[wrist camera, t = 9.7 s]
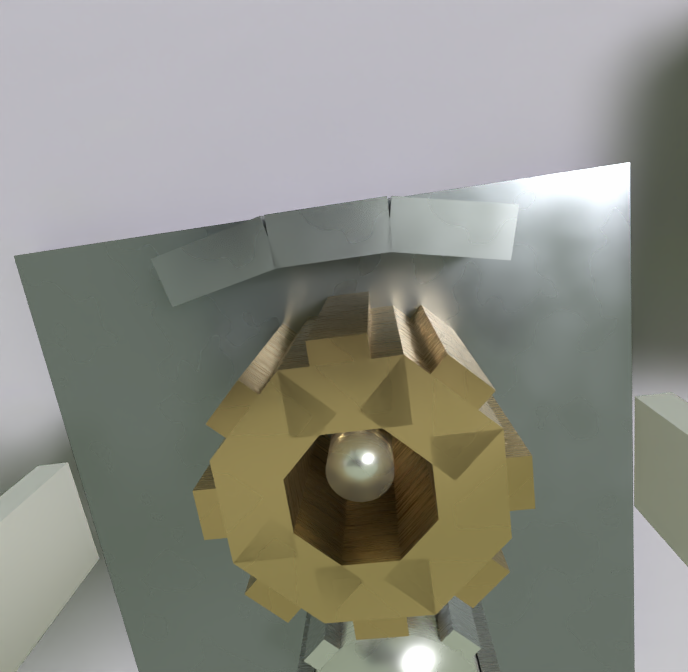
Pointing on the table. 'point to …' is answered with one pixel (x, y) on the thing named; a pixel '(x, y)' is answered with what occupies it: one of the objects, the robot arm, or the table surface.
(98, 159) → the table surface
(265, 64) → the table surface
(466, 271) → the carrier
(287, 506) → the gear
